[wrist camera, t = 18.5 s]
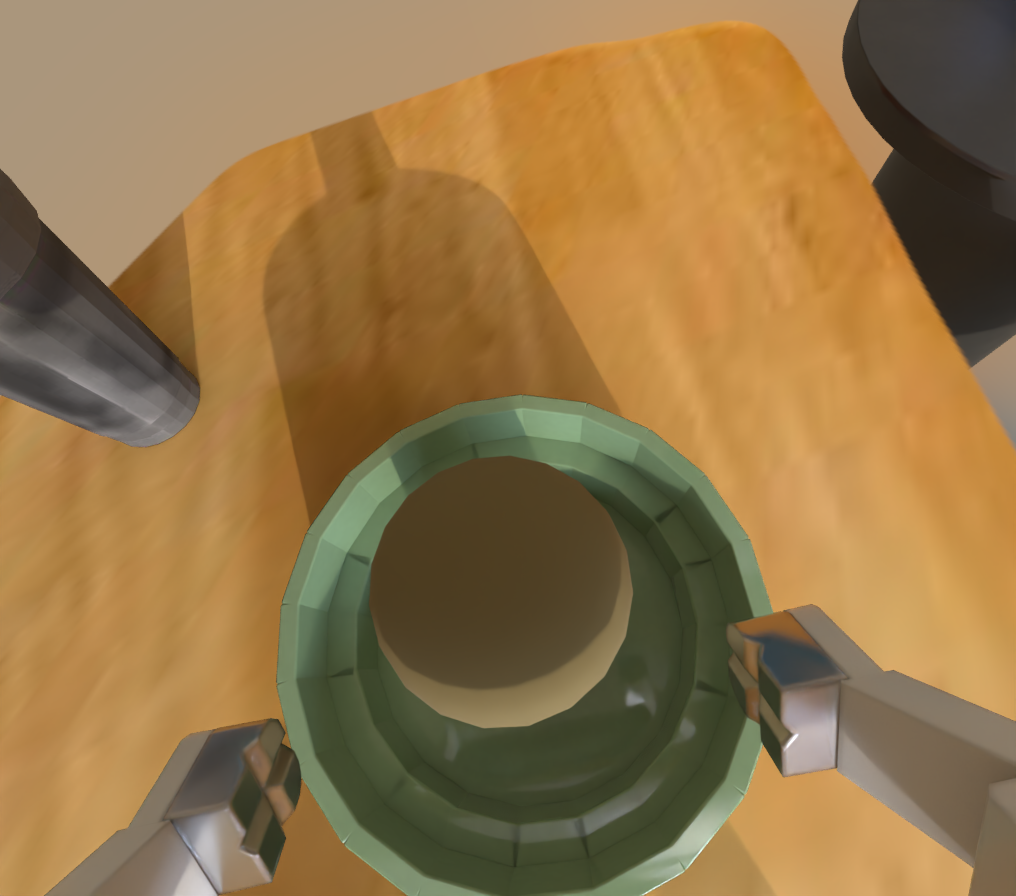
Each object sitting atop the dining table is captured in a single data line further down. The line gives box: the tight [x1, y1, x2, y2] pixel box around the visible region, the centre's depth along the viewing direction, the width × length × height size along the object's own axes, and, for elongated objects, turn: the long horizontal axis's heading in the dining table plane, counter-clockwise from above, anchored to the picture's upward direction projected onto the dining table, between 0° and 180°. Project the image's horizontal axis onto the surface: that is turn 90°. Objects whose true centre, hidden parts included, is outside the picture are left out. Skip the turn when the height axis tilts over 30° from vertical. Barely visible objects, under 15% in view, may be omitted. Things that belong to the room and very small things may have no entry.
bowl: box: [276, 394, 773, 896], centre depth 17 cm, size 14×14×5 cm
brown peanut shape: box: [369, 456, 633, 728], centre depth 14 cm, size 6×6×11 cm
